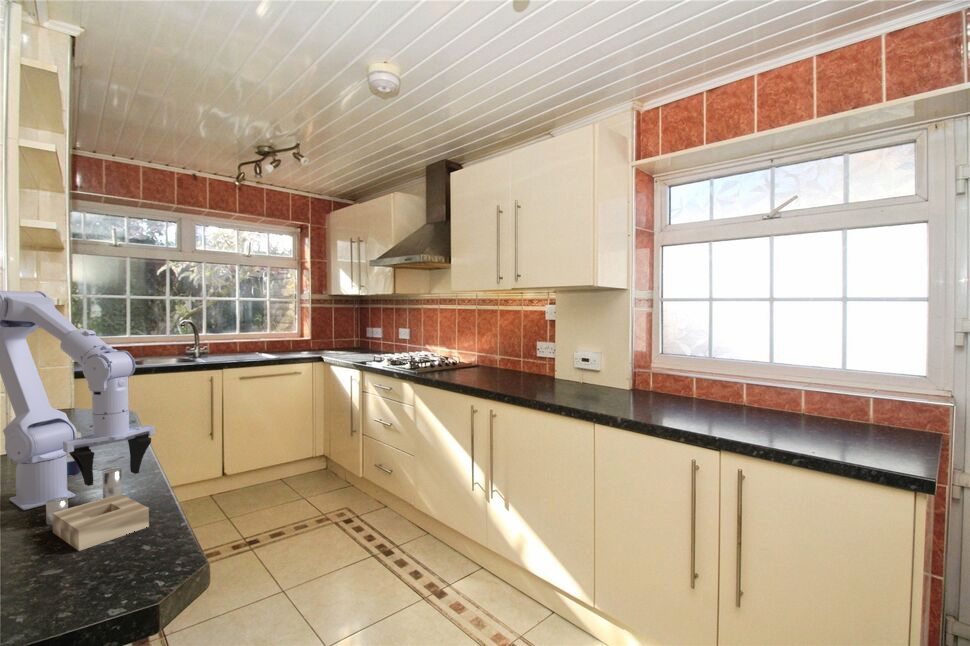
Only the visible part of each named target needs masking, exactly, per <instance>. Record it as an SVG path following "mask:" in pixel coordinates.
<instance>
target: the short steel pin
mask: <svg viewBox="0 0 970 646" xmlns="http://www.w3.org/2000/svg"><path fill="white" fill-rule="evenodd" d="M68 508H69V498H67V497H59V498H54V499H51V500H48V501H47V502H46V505H45V513H46V514H45V516H46V517H45V518H46V519H45V522H46V525H48V526H53V516H52V513H54V512H58V511H61V510H65V509H68Z"/></svg>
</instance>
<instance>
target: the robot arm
mask: <svg viewBox="0 0 970 646" xmlns="http://www.w3.org/2000/svg"><path fill="white" fill-rule="evenodd" d="M55 303H56V302H55V299H53V298H51V297H50V296H49V295H48V294H47V293H46V292H43V291H41V290H40V291H37V290H36V291H35V290H34V291H18V290H17V291H15V290H13V291H12V290H0V376H1V377H0V378H1V381H2V383H3V384H4V388H5V390H6V393H7V396H8V398H9V402H10V405H11V407H12V410H13V412H14V415H15V417H14V418H13V419H12V420H11V421H10V422H9V423H8V424H7V425H6V426H5V428H4V429H3V430H2V433H3V434H4V441H5V442H4V451H5V453H6V455H7V456H8V457H9V458H10V459H11V460H12V461H13V463H17V465H16V467H15V496H12V497H9V501H10V502H11V503H13V504H14V505H16V506H17V507H19V508H20V510H23V511H26V510H30V509H34V508H38V507H43V506H46V502H47V501H48V500H51V499H54V498H59V497H67V498H68V499H71V498H75V497H76V494H75V493H73V492H72V491H70V490H68V476H67V453H69V454H70V455H71V456H72V458H73V459H74V460H75V462H76V463H77V465H78V467H79V469H80V471H81V472H80V473H81V475H82V478H83V483H84V485H85V486H87V487H90V486H93V485H94V471H93V468H94V467H93V465H94V457H95V452H93V451H92V449H91V448H94V447H98V446H103V445H108V444H113V443H119V442H123V441H127V443H128V448H129V456H130V457H129V459H130V460H129V468H130V473H132V474H134V475H136V474H139V473H140V468H141V464H142V461H143V458H144V456H145V454H146V451H147V449H149V446H150V445H151V444H152V443H151V442H152V438H151V436H155V427H156V426H155V425H150V424H148V425H141V426H135V427H130V410H129V409H130V404H129V403H130V402H129V398H130V396H129V378H130V377H131V376H133V375H134V373H135V371H136V360H135V358H134V357H133V355H131V353H130V352H129V351H127V350H117V349H115V348H113V346H111V345H110V344H107V343H106V342H105V341H103V340H102V339H101V338H100V337H98V336H97V335H96V334H97V333H96V332H95V331H94V330H92V329H87V328H81V329H78V327H76V326H75V325H74V324H73V323H72V322H71V321H70V319H68V318H67V317H65V316H64V314H62V313H61V312H60V311H59V310H58V309H57V308H56V304H55ZM39 328H41V329H42V330H44V331H45V332H47V333H48V334H50V335H51V336H53V337H54V338H56V339H58V341H60V345H59V346H60V349H61V351H63V352H64V353H65V354H67V355H68V357H70V358H71V359H73V360H74V361H75V362H76V363H78V364H79V365H80V366H81V367H82V374H83V375H84V376H83V377H84V379H86V381H87V385H88V389H89V391H90V392H91V402H92V403H91V404H92V405H91V407H92V408H91V409H92V411H91V412H92V415H91V416H92V434H89V435H84V436H81V437H80V438H77V429H76V427H75V425H74V424H73V423H72V422H71V420H70V419H69V418H68V416H67V413H66V412H64V411H62V410H58V409H56V408H53V407H52V406H51V403H50V401H49V398H48V395H47V393H46V390H45V388H44V384H43V382H42V380H41V376H40V374H39V371H38V368H37V365H36V363H35V360H34V358H33V356H32V355H33V354H32V352H31V349H30V347H29V344H28V342H27V337H28V336H29V335H31V334H33V333H35V332H36V331H37V330H38V329H39Z"/></svg>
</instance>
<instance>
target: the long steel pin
mask: <svg viewBox="0 0 970 646" xmlns="http://www.w3.org/2000/svg"><path fill="white" fill-rule="evenodd" d="M122 472H123V471H122V468H119V467H118V468H117V467H116V468H110V469H106V470H103V471H102V473H101V474H102V499H104V498H107V497H111V496H114V495H118V494H122V495H123V483H122V482H123V481H122V480H123V477H122V474H123V473H122Z"/></svg>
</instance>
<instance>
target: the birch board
mask: <svg viewBox="0 0 970 646" xmlns="http://www.w3.org/2000/svg"><path fill="white" fill-rule="evenodd" d="M149 512H150V507H148V506H146V505H144V504H142V503H140V502H137V501H136V500H134V499H131V498H130V497H128V496H125V495H123V493H122V494H118V495H114V496H111V497H107V498H104V499H103V498H101V499H97V500H94V501H91V502H86V503H83V504H80V505H75V506H72V507H68V509H65V510H61V511H58V512H54V513H52V516H53V525H52V534H54V535H56V536H58V537H59V538H60V539H61V540H63V541H64V542H66V543H67V544H68V545H69V546H71V547H72V548H74V549H75V550H76V551H78V552H81V551H84V550H86V549H89V548H92V547H95V546H97V545H101V544H103V543H107V542H110V541H113V540H115V539H118V538H121V537H124V536H127V535H130V534H132V533H135V532H138V531H140V530H144V529H147V528H150V513H149ZM146 527H147V528H146ZM134 531H135V532H134ZM129 533H130V534H129ZM126 534H127V535H126Z"/></svg>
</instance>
